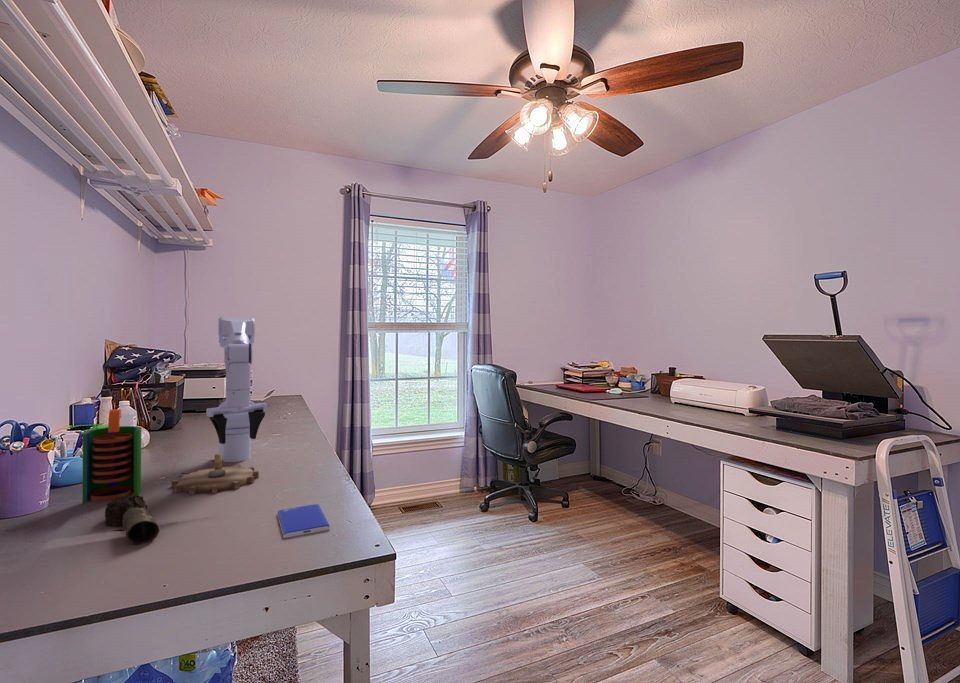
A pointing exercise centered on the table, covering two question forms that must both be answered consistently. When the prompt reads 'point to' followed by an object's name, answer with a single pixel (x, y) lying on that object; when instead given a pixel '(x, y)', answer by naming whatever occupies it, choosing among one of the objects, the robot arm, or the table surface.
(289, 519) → the hard drive
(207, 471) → the sprocket
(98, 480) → the motor
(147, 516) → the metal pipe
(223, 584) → the table surface
